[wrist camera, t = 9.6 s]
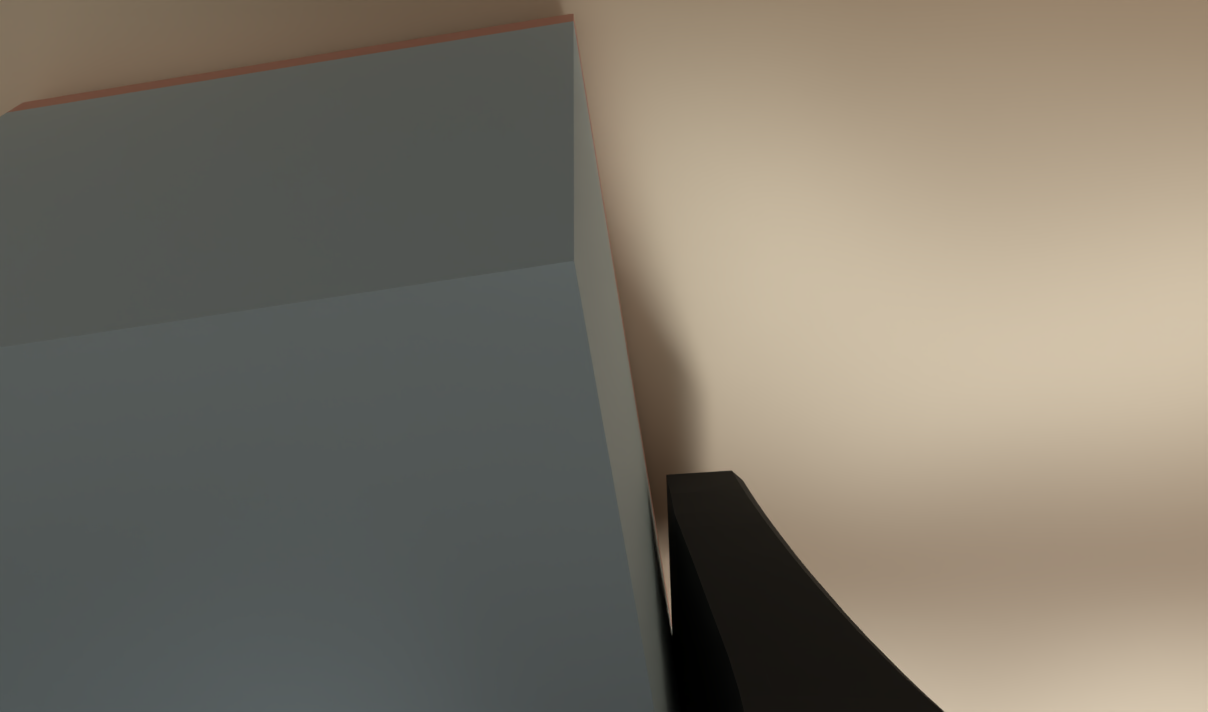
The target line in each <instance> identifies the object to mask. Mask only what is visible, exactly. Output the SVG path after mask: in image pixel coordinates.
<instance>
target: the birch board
mask: <svg viewBox="0 0 1208 712" xmlns="http://www.w3.org/2000/svg"><path fill="white" fill-rule="evenodd" d="M566 14H574V20H575V26H576V32H577V39H578V45H579V51H580V57H581V63H582V70H583V76H584V82H585V88H586V94H587V101H588V107H589V113H590V119H591V125H592V132H593V138H594V144H595V150H596V156H597V162H598V169H599V175H600V181H601V187H602V193H603V200H604V206H605V212H606V218H607V224H608V231H609V237H610V243H611V249H612V255H613V262H614V268H615V274H616V280H617V286H618V293H619V299H620V305H621V311H622V317H623V324H624V330H625V336H626V342H627V348H628V355H629V361H630V367H631V373H632V379H633V386H634V392H635V398H636V404H637V410H638V417H639V423H640V429H641V435H642V441H643V447H644V454H645V460H646V466H647V472H648V478H649V485H650V491H651V497H652V503H653V509H654V516H655V522H656V528H657V534H658V540H659V547H660V553H661V559H662V565H663V571H664V578H665V584H666V590H667V596H668V602H669V609H670V615H671V590H670V564H669V537H668V511H667V484H666V475H668V474H684V473H699V472H715V471H730V470H732V471H733V472H734V473H735V474H736V475H737V476H739V477H740V478H741V479H742V480H743V481H744V483H745V484H746V486H747V488H748V489H749V491H750V492H751V494H752V495H753V497H754V498H755V500H756V501H757V503H758V504H759V506H760V507H761V509H762V510H763V511H764V513H765V514H766V516H767V517H768V518H769V520H770V521H771V523H772V524H773V525H774V527H775V528H776V529H777V531H778V532H779V533H780V535H781V536H782V537H783V539H784V540H785V541H786V542H787V544H788V545H789V546H790V548H791V549H792V550H793V552H794V553H795V554H796V555H797V557H798V558H799V559H800V560H801V562H802V563H803V564H804V565H805V566H806V568H807V569H808V570H809V571H810V573H811V574H812V575H813V576H814V577H815V578H816V580H817V581H818V582H819V583H820V584H821V585H822V586H823V588H824V589H825V590H826V591H827V592H828V593H829V595H830V596H831V597H832V598H833V599H834V600H835V601H836V603H837V604H838V605H839V606H840V607H841V608H842V610H843V611H844V612H845V613H846V614H847V615H848V616H849V617H850V619H851V620H852V621H853V622H854V623H855V624H856V625H857V626H858V627H859V628H860V629H861V630H862V631H863V633H864V634H865V635H866V636H867V637H868V638H869V639H870V640H871V641H872V642H873V643H874V644H875V645H876V646H877V647H878V648H879V649H880V650H881V651H882V652H883V653H884V654H885V655H886V656H887V657H888V658H889V659H890V660H891V661H892V662H893V663H894V664H895V665H896V666H897V667H898V668H899V669H900V670H901V671H902V672H903V673H904V674H905V675H906V676H907V677H908V678H909V679H910V680H911V681H912V682H913V683H914V684H915V685H916V686H917V687H918V688H919V689H920V690H921V691H922V692H924V693H925V694H926V695H927V696H928V697H929V698H930V699H931V700H932V701H933V702H934V703H935V704H937V705H938V706H939V707H940V708H941V709H942V710H943V711H944V712H1208V0H0V116H2V115H4V114H5V113H7V112H8V111H10V110H12V109H13V108H15V107H16V106H18V105H20V104H21V103H23V102H29V101H35V100H41V99H47V98H53V97H60V96H66V95H72V94H78V93H84V92H91V91H97V90H103V89H109V88H115V87H121V86H128V85H134V84H140V83H146V82H152V81H159V80H165V79H171V78H177V77H183V76H189V75H196V74H202V73H208V72H214V71H220V70H227V69H233V68H239V67H245V66H251V65H257V64H264V63H270V62H276V61H282V60H288V59H294V58H301V57H307V56H313V55H319V54H325V53H332V52H338V51H344V50H350V49H356V48H362V47H369V46H375V45H381V44H387V43H393V42H400V41H406V40H412V39H418V38H424V37H430V36H437V35H443V34H449V33H455V32H461V31H468V30H474V29H480V28H486V27H492V26H498V25H505V24H511V23H517V22H523V21H529V20H536V19H542V18H548V17H554V16H560V15H566ZM671 621H672V617H671Z"/></svg>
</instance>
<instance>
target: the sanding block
mask: <svg viewBox="0 0 1208 712" xmlns="http://www.w3.org/2000/svg"><path fill="white" fill-rule="evenodd" d="M0 712H681V708H680V699H679V691H678V682H677V674H676V665H675V656H674V648H673V639H672V621H671V615H670V609H669V602H668V596H667V590H666V584H665V578H664V571H663V565H662V559H661V553H660V547H659V540H658V534H657V528H656V522H655V516H654V509H653V503H652V497H651V491H650V485H649V478H648V472H647V466H646V460H645V454H644V447H643V441H642V435H641V429H640V423H639V417H638V410H637V404H636V398H635V392H634V386H633V379H632V373H631V367H630V361H629V355H628V348H627V342H626V336H625V330H624V324H623V317H622V311H621V305H620V299H619V293H618V286H617V280H616V274H615V268H614V262H613V255H612V249H611V243H610V237H609V231H608V224H607V218H606V212H605V206H604V200H603V193H602V187H601V181H600V175H599V169H598V162H597V156H596V150H595V144H594V138H593V132H592V125H591V119H590V113H589V107H588V101H587V94H586V88H585V82H584V76H583V70H582V63H581V57H580V51H579V45H578V39H577V32H576V26H575V20H574V14H566V15H560V16H554V17H548V18H542V19H536V20H529V21H523V22H517V23H511V24H505V25H498V26H492V27H486V28H480V29H474V30H468V31H461V32H455V33H449V34H443V35H437V36H430V37H424V38H418V39H412V40H406V41H400V42H393V43H387V44H381V45H375V46H369V47H362V48H356V49H350V50H344V51H338V52H332V53H325V54H319V55H313V56H307V57H301V58H294V59H288V60H282V61H276V62H270V63H264V64H257V65H251V66H245V67H239V68H233V69H227V70H220V71H214V72H208V73H202V74H196V75H189V76H183V77H177V78H171V79H165V80H159V81H152V82H146V83H140V84H134V85H128V86H121V87H115V88H109V89H103V90H97V91H91V92H84V93H78V94H72V95H66V96H60V97H53V98H47V99H41V100H35V101H29V102H23V103H21V104H20V105H18V106H16V107H15V108H13V109H12V110H10V111H8V112H7V113H5V114H4V115H2V116H0Z"/></svg>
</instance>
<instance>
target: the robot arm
mask: <svg viewBox="0 0 1208 712" xmlns="http://www.w3.org/2000/svg"><path fill="white" fill-rule="evenodd" d="M666 484H667V511H668V537H669V564H670V590H671V617H672V639H673V648H674V656H675V665H676V674H677V682H678V691H679V699H680V708H681V712H944V711H943V710H942V709H941V708H940V707H939V706H938V705H937V704H935V703H934V702H933V701H932V700H931V699H930V698H929V697H928V696H927V695H926V694H925V693H924V692H922V691H921V690H920V689H919V688H918V687H917V686H916V685H915V684H914V683H913V682H912V681H911V680H910V679H909V678H908V677H907V676H906V675H905V674H904V673H903V672H902V671H901V670H900V669H899V668H898V667H897V666H896V665H895V664H894V663H893V662H892V661H891V660H890V659H889V658H888V657H887V656H886V655H885V654H884V653H883V652H882V651H881V650H880V649H879V648H878V647H877V646H876V645H875V644H874V643H873V642H872V641H871V640H870V639H869V638H868V637H867V636H866V635H865V634H864V633H863V631H862V630H861V629H860V628H859V627H858V626H857V625H856V624H855V623H854V622H853V621H852V620H851V619H850V617H849V616H848V615H847V614H846V613H845V612H844V611H843V610H842V608H841V607H840V606H839V605H838V604H837V603H836V601H835V600H834V599H833V598H832V597H831V596H830V595H829V593H828V592H827V591H826V590H825V589H824V588H823V586H822V585H821V584H820V583H819V582H818V581H817V580H816V578H815V577H814V576H813V575H812V574H811V573H810V571H809V570H808V569H807V568H806V566H805V565H804V564H803V563H802V562H801V560H800V559H799V558H798V557H797V555H796V554H795V553H794V552H793V550H792V549H791V548H790V546H789V545H788V544H787V542H786V541H785V540H784V539H783V537H782V536H781V535H780V533H779V532H778V531H777V529H776V528H775V527H774V525H773V524H772V523H771V521H770V520H769V518H768V517H767V516H766V514H765V513H764V511H763V510H762V509H761V507H760V506H759V504H758V503H757V501H756V500H755V498H754V497H753V495H752V494H751V492H750V491H749V489H748V488H747V486H746V484H745V483H744V481H743V480H742V479H741V478H740V477H739V476H737V475H736V474H735V473H734V472H733V471H732V470H730V471H715V472H699V473H684V474H668V475H666Z"/></svg>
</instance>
